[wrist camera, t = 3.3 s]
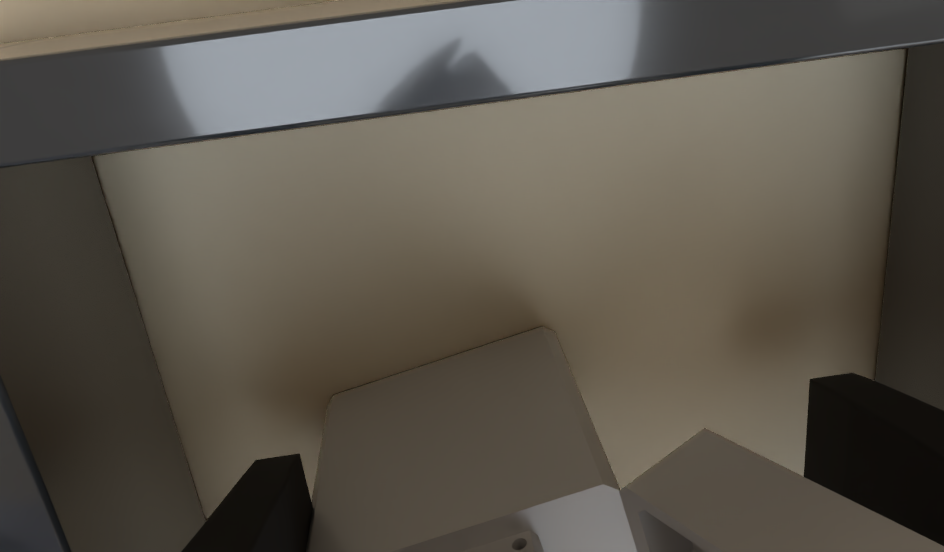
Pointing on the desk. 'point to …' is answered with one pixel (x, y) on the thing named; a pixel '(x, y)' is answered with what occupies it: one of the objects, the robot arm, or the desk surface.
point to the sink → (332, 102)
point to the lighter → (551, 474)
